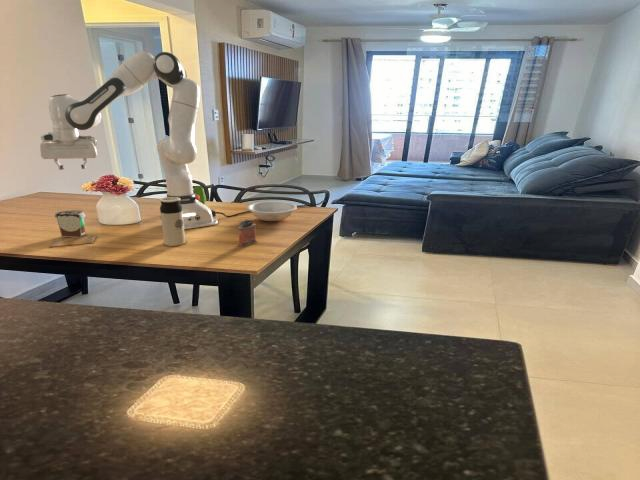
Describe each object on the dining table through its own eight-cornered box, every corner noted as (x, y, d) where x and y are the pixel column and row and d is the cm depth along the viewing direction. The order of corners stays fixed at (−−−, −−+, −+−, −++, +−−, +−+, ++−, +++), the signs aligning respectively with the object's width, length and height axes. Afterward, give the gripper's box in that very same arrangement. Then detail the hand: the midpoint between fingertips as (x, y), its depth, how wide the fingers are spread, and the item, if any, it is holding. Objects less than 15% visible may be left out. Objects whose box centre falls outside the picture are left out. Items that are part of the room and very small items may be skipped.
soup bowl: (282, 211, 203) (282, 199, 200) (305, 222, 184) (305, 209, 181) (240, 217, 190) (239, 204, 188) (260, 229, 171) (259, 215, 169)
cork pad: (95, 236, 157) (95, 235, 157) (92, 243, 150) (92, 242, 149) (55, 240, 152) (55, 239, 152) (50, 247, 144) (50, 246, 144)
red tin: (252, 240, 157) (251, 216, 154) (257, 242, 155) (257, 218, 152) (236, 245, 151) (235, 220, 148) (242, 247, 149) (241, 222, 146)
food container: (95, 233, 160) (92, 210, 157) (84, 237, 154) (80, 213, 151) (70, 232, 162) (66, 209, 160) (58, 236, 156) (54, 212, 154)
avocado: (206, 208, 204) (205, 186, 200) (191, 209, 202) (189, 187, 198) (206, 205, 212) (204, 184, 208) (191, 206, 209) (189, 184, 206)
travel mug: (160, 243, 151) (155, 198, 146) (179, 238, 157) (174, 195, 151) (170, 247, 146) (165, 202, 141) (189, 243, 152) (185, 199, 146)
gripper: (96, 135, 165) (101, 167, 170) (39, 135, 158) (46, 168, 162) (94, 136, 160) (99, 169, 164) (35, 136, 152) (43, 171, 157)
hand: (72, 169), depth 163 cm, fingers open, 7 cm apart
